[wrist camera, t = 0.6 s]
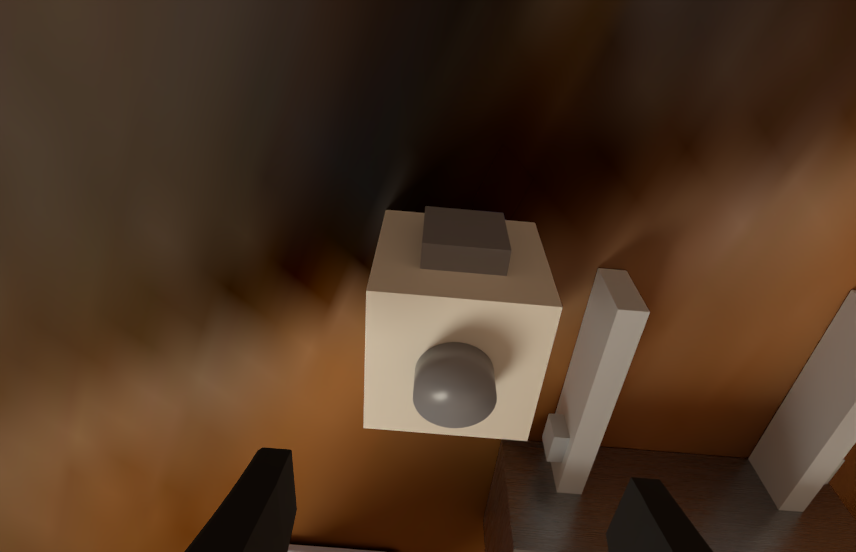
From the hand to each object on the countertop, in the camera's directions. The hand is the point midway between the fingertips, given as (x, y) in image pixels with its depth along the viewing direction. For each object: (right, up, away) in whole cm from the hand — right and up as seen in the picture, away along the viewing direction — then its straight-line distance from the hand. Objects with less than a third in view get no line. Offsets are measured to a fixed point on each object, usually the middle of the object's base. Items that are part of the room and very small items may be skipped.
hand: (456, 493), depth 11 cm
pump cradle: (+10, +1, +9) cm, 14 cm away
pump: (0, +5, +8) cm, 9 cm away
